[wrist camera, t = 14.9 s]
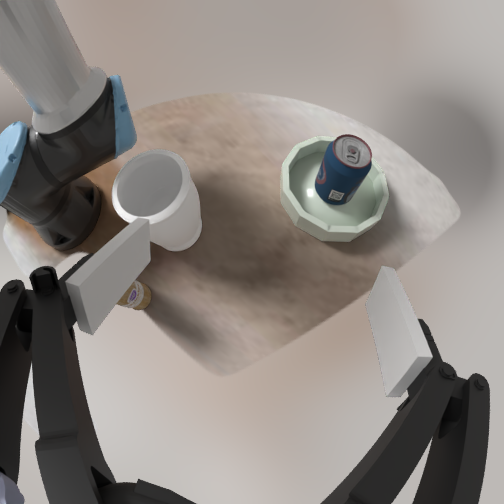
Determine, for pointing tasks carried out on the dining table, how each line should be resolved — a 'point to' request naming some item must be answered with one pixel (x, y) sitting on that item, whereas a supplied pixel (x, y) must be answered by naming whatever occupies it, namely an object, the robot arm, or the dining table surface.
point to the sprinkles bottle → (136, 296)
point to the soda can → (343, 169)
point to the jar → (160, 198)
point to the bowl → (318, 211)
